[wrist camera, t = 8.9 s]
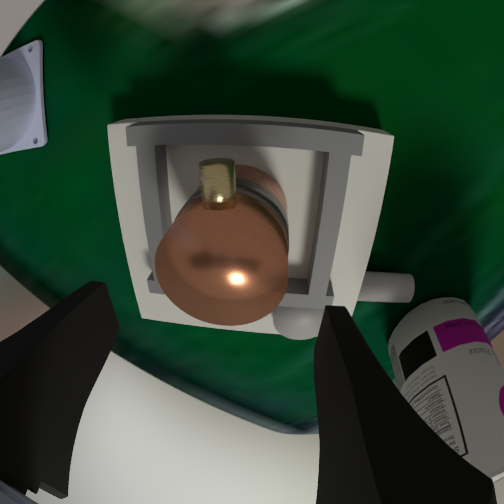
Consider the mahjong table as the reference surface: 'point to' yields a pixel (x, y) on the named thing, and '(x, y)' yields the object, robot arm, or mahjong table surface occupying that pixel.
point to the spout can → (227, 246)
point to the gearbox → (296, 193)
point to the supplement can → (453, 380)
